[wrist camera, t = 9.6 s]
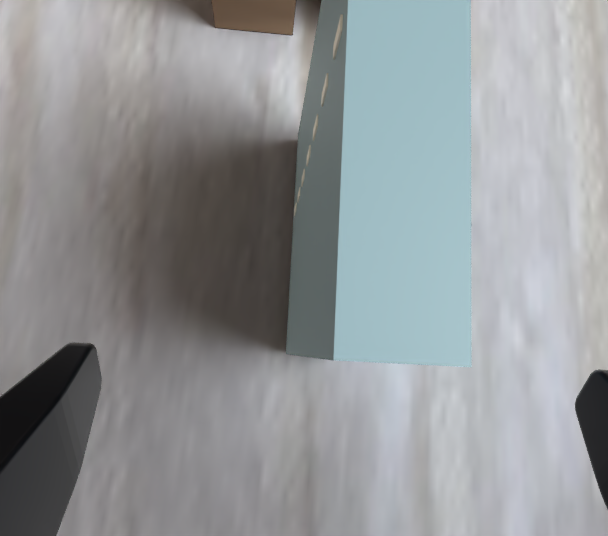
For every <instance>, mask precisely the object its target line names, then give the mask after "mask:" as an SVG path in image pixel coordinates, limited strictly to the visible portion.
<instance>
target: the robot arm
mask: <svg viewBox="0 0 608 536" xmlns="http://www.w3.org/2000/svg"><path fill="white" fill-rule="evenodd" d="M101 382H102V378H101V372H100V366H99V361H98V356H97V350H96V348H95V346H94V345H93V344H90V343H69V344H67V345H65V346H64V347H63V348H61V349H60V350H59V351H58V352H56V353H55V354H54V355H53V356H51V357H50V358H49V359H47V360H46V361H45V362H44V363H42V364H41V365H40V366H39V367H37V368H36V369H35V370H34V371H32V372H31V373H30V374H28V375H27V376H26V377H25V378H23V379H22V380H21V381H20V382H18V383H17V384H16V385H14V386H13V387H12V388H11V389H9V390H8V391H7V392H6V393H4V394H3V395H2V396H1V397H0V536H56V535H57V532H58V529H59V527H60V524H61V521H62V519H63V516H64V513H65V511H66V508H67V505H68V503H69V500H70V497H71V495H72V492H73V490H74V487H75V484H76V481H77V478H78V475H79V472H80V469H81V465H82V462H83V458H84V454H85V450H86V446H87V442H88V438H89V434H90V430H91V426H92V422H93V418H94V414H95V410H96V406H97V402H98V398H99V394H100V390H101ZM575 410H576V414H577V418H578V421H579V424H580V428H581V431H582V434H583V438H584V441H585V444H586V447H587V451H588V454H589V457H590V461H591V464H592V467H593V471H594V474H595V477H596V480H597V483H598V486H599V489H600V492H601V494H602V497H603V499H604V502H605V505H606V507H607V509H608V370H595V371H594V372H592V373H591V374H590V376H589V378H588V379H587V381H586V383H585V384H584V386H583V388H582V390H581V391H580V393H579V395H578V396H577V398H576V402H575Z"/></svg>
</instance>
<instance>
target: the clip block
mask: <svg viewBox="0 0 608 536" xmlns="http://www.w3.org/2000/svg"><path fill="white" fill-rule="evenodd" d="M211 1H212V8H213V15H214V22H215V28H225V29H235V30H246V31H256V32H266V33H277V34H287V35H293V25H294V15H295V5H296V0H211Z"/></svg>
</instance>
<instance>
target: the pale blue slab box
mask: <svg viewBox="0 0 608 536" xmlns="http://www.w3.org/2000/svg"><path fill="white" fill-rule="evenodd" d="M286 354H290V355H298V356H305V357H313V358H320V359H328V360H339V361H358V362H378V363H398V364H418V365H438V366H457V367H471V0H322V1H321V7H320V12H319V18H318V24H317V30H316V35H315V41H314V47H313V53H312V58H311V64H310V70H309V76H308V81H307V87H306V93H305V98H304V104H303V110H302V116H301V121H300V127H299V133H298V146H297V163H296V181H295V199H294V217H293V235H292V253H291V271H290V289H289V307H288V325H287V343H286Z"/></svg>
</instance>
